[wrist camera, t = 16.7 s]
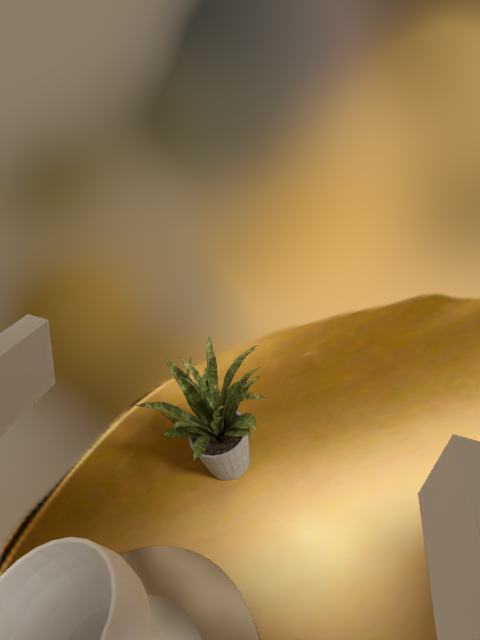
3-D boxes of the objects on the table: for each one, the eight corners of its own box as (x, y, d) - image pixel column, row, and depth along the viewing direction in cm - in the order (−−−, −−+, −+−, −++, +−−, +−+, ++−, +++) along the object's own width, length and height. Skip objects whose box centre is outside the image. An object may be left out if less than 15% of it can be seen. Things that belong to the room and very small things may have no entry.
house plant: (310, 426, 55) (291, 330, 45) (276, 529, 45) (243, 434, 36) (213, 409, 61) (179, 320, 51) (166, 496, 51) (113, 407, 42)
